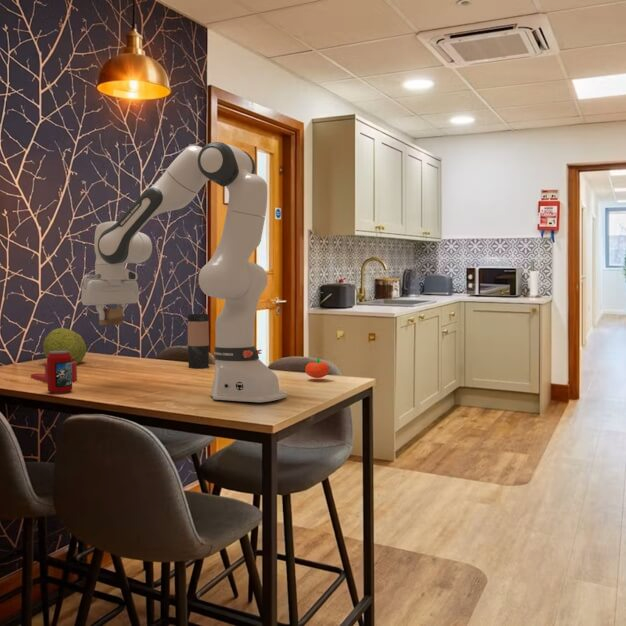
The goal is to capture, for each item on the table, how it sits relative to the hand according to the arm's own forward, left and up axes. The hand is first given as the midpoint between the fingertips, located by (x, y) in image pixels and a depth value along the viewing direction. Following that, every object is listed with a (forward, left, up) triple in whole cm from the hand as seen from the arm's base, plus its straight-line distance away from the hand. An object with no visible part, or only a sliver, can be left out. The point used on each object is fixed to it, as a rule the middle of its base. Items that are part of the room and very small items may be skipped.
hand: (111, 319), depth 209 cm
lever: (+22, +5, -21) cm, 31 cm away
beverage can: (+3, +17, -21) cm, 27 cm away
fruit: (+45, -18, -21) cm, 53 cm away
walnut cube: (0, 0, -2) cm, 2 cm away
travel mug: (+2, -43, -21) cm, 48 cm away
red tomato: (-47, -46, -21) cm, 69 cm away
